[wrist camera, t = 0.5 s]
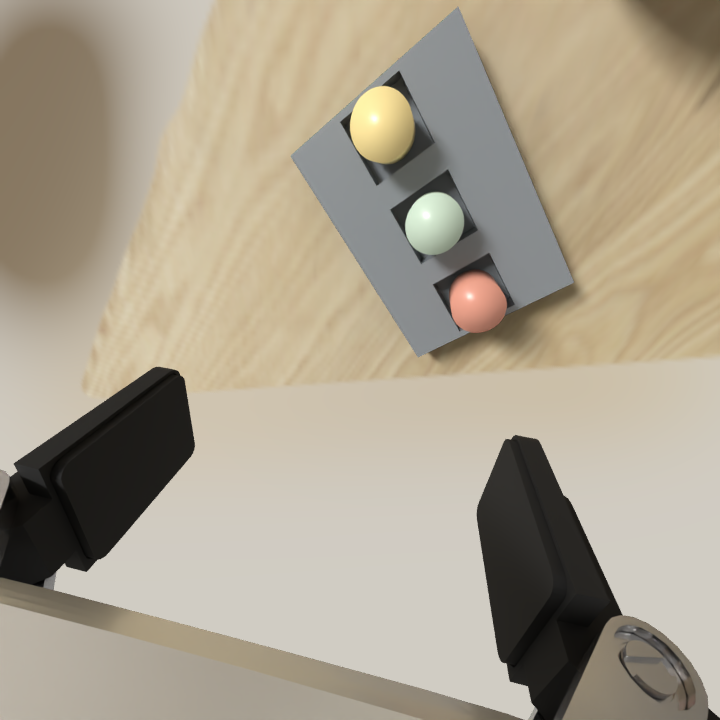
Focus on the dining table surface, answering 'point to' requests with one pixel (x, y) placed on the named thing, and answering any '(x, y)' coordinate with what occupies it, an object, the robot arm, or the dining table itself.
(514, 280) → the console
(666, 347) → the dining table surface
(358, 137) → the button ochre
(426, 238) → the button sage
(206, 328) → the dining table surface
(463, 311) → the button brick
